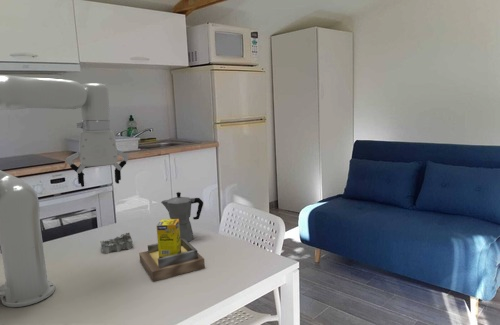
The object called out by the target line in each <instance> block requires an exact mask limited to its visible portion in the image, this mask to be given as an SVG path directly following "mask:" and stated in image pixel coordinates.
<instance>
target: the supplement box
mask: <svg viewBox="0 0 500 325" xmlns="http://www.w3.org/2000/svg"><path fill="white" fill-rule="evenodd" d="M156 236H157V243H158V250H159V258H162V257H167V256H171V255H175V254H179V253H180V252H181V241H180V226H179V219H170V218H169V219H167V218H166V219H165V218H164V219H163V218H162V219H160V221H159V222H158V223H157V224H156Z"/></svg>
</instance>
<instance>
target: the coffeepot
mask: <svg viewBox="0 0 500 325" xmlns="http://www.w3.org/2000/svg"><path fill="white" fill-rule="evenodd" d="M175 194H176V197H172V198H169V199H164V200H162V201H161V202H160V203H161V204H162V205H163V206H164V208H165V209H166V210H167V212H168V215H169V219H179V226H180V238H184V239H185V240H186V241H188V242H189V243H190V242H191V241H192V240H193V239H194V238H195V236H194V231H193V226H192V223H191V221H190V218H191V215H192V214H191V212H192V204H197V203H198V205H197V210H196V216H193V217H192V219H193V220H199V219H200V216H201V213H202V209H203V206H204V201H203V200H202V199H201V198H200V197H188V196H181V194H182V193H181V192H180V191H178V192H176V193H175Z"/></svg>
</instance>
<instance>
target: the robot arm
mask: <svg viewBox="0 0 500 325" xmlns="http://www.w3.org/2000/svg"><path fill="white" fill-rule="evenodd" d="M23 109H51V110H52V109H55V110H56V109H57V110H60V109H61V110H77V109H81V110H80V111H81V112H80V113H81V121H80V122H78V123H77V122H76V128H78V129H81V130H82V131H80V132H79V139H78V140H79V143H78V151H77V152H75V153H73V154H71V155H69V156H68V157H66V158H65V161H66V163H67V164H68V166H69V167H70V169H72V170H73V171H74V172H76V173H77V183H78V185H79V184H80V186H81V188H84V187H85V179H84V176H85V175H84V172H83V170H84V169H85V168H86V167H87V168H88V167H89V168H90V167H91V168H92V167H102V166H104V167H105V166H114V168H115V169H114V180H115V181H114V182H115V184H120V181H121V180H122V174H121V173H122V172H121V171H122V169H123V168H124V166H125V165H126V164H127V162H128V160H129V158H130V155H129V154H128V153H125V152H123V151H121V150H118V148H117V141H116V136H115V132H114V131H113V130H111V116H110V100H109V88H108V86H107V85H106V84H104V83H101V82H100V83H99V82H97V83H96V82H89V83H88V82H87V83H82V84H81V83H80V82H79V81H76V80H71V79H61V78H60V79H57V78H48V77H47V78H46V77H31V76H29V77H27V76H18V75H9V74H8V75H5V74H0V110H11V111H12V110H23ZM118 156H120V157H122V160H121V161H120V162H119V163H118V159H119V158H118ZM77 158H79V162H80V164H79V165H78V166H77V165H76V164H74V162H73V161H74V160H75V159H77ZM40 220H41V218H40V200H39V198H38V194H37V192H36V190H35V189H34V188H33V187H32V186H31V185H29V183H27V182H25V181H24V180H22V179H21V178H19V177H17V176H14V175H12V174H9V173H8V172H6V171H4V170H1V169H0V251H1V257H2V259H1V260H2V264H3V270H4V277H5V283H3V284H1V285H0V297H1V303H2V305H3V306H6V307H8V308H19V307H21V308H22V307H27V306H29V305H33V304H36V303H38V302H39V303H40V302H42V301H43V300H45V299H47V298H49V297H50V296H51V295H52V294H54V292H55V291H56V285H55V283H54V282H53V281H51V280H49V279H48V272H47V264H46V257H45V250H44V242H43V237H42V236H43V235H42V229H41V221H40Z"/></svg>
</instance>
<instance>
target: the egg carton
mask: <svg viewBox="0 0 500 325" xmlns="http://www.w3.org/2000/svg"><path fill="white" fill-rule="evenodd" d="M100 247H101V253H102V254H103V253H105V254H110V253H111V252H113V251H116V252H120V251H122V250H123V249H124V250H129V249H131V248H133V247H134V246H133V238H132V236H131V234H130V232H125V233H123V234H120V236H116V237H114V238H109V239H107V240H100Z"/></svg>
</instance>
